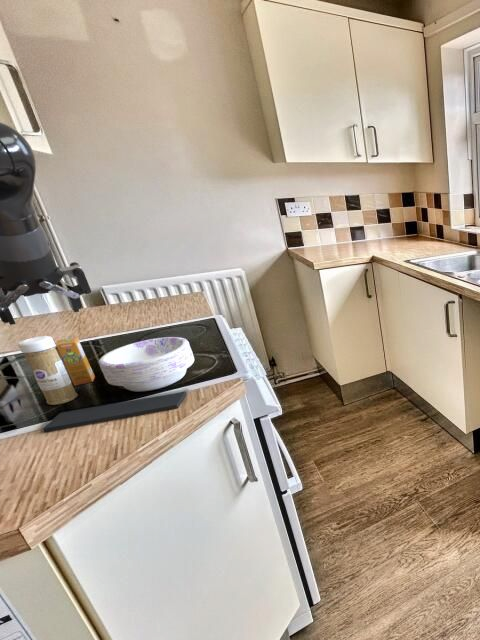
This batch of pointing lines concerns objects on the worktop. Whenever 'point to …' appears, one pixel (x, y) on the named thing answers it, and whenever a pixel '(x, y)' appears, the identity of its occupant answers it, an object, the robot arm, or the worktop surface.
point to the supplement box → (75, 361)
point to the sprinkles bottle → (48, 369)
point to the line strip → (115, 411)
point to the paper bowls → (148, 363)
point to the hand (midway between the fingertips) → (44, 315)
